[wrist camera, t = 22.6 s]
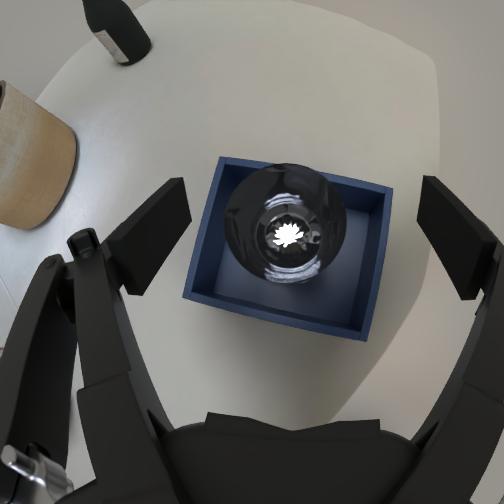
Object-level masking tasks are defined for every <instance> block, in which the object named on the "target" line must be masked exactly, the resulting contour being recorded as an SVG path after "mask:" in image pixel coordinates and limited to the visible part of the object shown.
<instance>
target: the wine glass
mask: <svg viewBox="0 0 504 504" xmlns="http://www.w3.org/2000/svg"><path fill="white" fill-rule="evenodd" d="M346 229H347V216H346V210H345V206H344V203H343V200H342V198H341V196H340V194H339V192H338V191H337V190H336V188H335V187H334V186H333V184H332V183H331V182H330V181H329V180H328V179H327V178H326V177H324V176H323V175H321V174H320V173H318V172H317V171H315V170H313V169H311V168H308V167H306V166H302V165H298V164H289V163H283V164H274V165H270V166H266V167H264V168H261V169H259V170H257V171H255V172H253V173H252V174H250V175H249V176H247V177H246V178H245V179H244V180H243V181H242V182H241V183H240V184H239V185H238V186H237V188H236V189H235V190H234V192H233V193H232V195H231V197H230V199H229V201H228V204H227V207H226V210H225V216H224V232H225V237H226V241H227V244H228V246H229V249H230V251H231V252H232V254H233V256H234V257H235V259H236V260H237V261H238V262H239V263H240V265H241V266H242V267H243V268H245V269H246V270H247V271H248V272H250V273H251V274H253V275H255V276H256V277H258V278H260V279H262V280H265V281H268V282H271V283H277V284H288V285H298V284H302V283H305V282H307V281H309V280H311V279H312V278H314V277H316V276H317V275H319V274H320V273H322V272H323V271H324V270H325V269H326V268H327V267H328V266H329V265H331V263H332V262H333V261H334V259H335V258H336V257H337V255H338V254H339V252H340V250H341V247H342V245H343V243H344V239H345V235H346Z"/></svg>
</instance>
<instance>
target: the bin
mask: <svg viewBox="0 0 504 504" xmlns="http://www.w3.org/2000/svg"><path fill="white" fill-rule="evenodd" d="M270 165H274V164H273V163H267V162H260V161H253V160H245V159H238V158H230V157H219V160H218V164H217V167H216V170H215V174H214V177H213V181H212V184H211V187H210V191H209V194H208V198H207V202H206V205H205V209H204V212H203V216H202V220H201V223H200V227H199V231H198V235H197V239H196V243H195V246H194V250H193V254H192V258H191V262H190V266H189V271H188V275H187V279H186V283H185V287H184V292H183V296H182V298H185V299H188V300H192V301H195V302H198V303H202V304H206V305H209V306H213V307H216V308H220V309H224V310H227V311H231V312H235V313H239V314H242V315H246V316H250V317H254V318H258V319H262V320H266V321H270V322H274V323H279V324H283V325H287V326H291V327H296V328H300V329H305V330H309V331H314V332H318V333H323V334H328V335H333V336H338V337H343V338H348V339H353V340H359V341H364V342H366V341H367V338H368V334H369V330H370V326H371V322H372V318H373V313H374V309H375V304H376V300H377V295H378V290H379V285H380V280H381V275H382V269H383V264H384V258H385V251H386V245H387V238H388V231H389V223H390V215H391V206H392V196H393V188H390V187H386V186H382V185H378V184H374V183H370V182H366V181H362V180H357V179H353V178H348V177H344V176H339V175H334V174H329V173H324V172H319V171H317V172H318V173H320V174H321V175H323V176H324V177H326V178H327V179H328V180H329V181H330V182H331V183H332V184H333V186H334V187H335V188H336V190H337V191H338V192H339V194H340V196H341V198H342V200H343V203H344V206H345V210H346V216H347V229H346V235H345V239H344V243H343V245H342V247H341V250H340V252H339V254H338V255H337V257H336V258H335V259H334V261H333V262H332V263H331V265H329V266H328V267H327V268H326V269H325V270H324V271H323V272H322V273H320V274H319V275H317V276H316V277H314V278H312V279H311V280H309V281H307V282H305V283H302V284H298V285H288V284H277V283H271V282H268V281H265V280H262V279H260V278H258V277H256V276H255V275H253V274H251V273H250V272H248V271H247V270H246V269H245V268H243V267H242V266H241V265H240V263H239V262H238V261H237V260H236V259H235V257H234V256H233V254H232V252H231V251H230V249H229V246H228V244H227V241H226V237H225V232H224V216H225V210H226V207H227V204H228V201H229V199H230V197H231V195H232V193H233V192H234V190H235V189H236V188H237V186H238V185H239V184H240V183H241V182H242V181H243V180H244V179H245V178H246V177H247V176H249V175H250V174H252V173H253V172H255V171H257V170H259V169H261V168H264V167H266V166H270Z"/></svg>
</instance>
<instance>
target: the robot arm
mask: <svg viewBox="0 0 504 504" xmlns="http://www.w3.org/2000/svg"><path fill="white" fill-rule="evenodd" d="M191 221H192V219H191V214H190V210H189V205H188V200H187V195H186V190H185V185H184V180H183V177H179V178H170V179H169V180H168V181H167V182H166V183H165V184H164V185H163V186H161V187H160V188H159V189H158V190H157V191H156V192H155V193H154V194H153V195H151V196H150V197H149V198H148V199H147V200H146V201H145V202H144V203H143V204H142V205H141V206H140V207H139V208H138V209H137V210H135V211H134V212H133V213H132V214H131V215H130V216H129V217H128V218H127V219H126V220H125V221H124V222H122V223H121V224H120V225H119V226H118V227H117V228H116V230H114V231H113V232H112V233H111V234H110V235H109V236H108V237H107V238H106V239H105V240H104V241H103V242H102V243H101V244H100V243H99V241H98V238H97V235H96V233H95V230H94V229H93V228H86V229H83V230H80V231H78V232H76V233H74V234H73V235H72V236H70V238H69V239H68V240H67V244H68V247H69V249H70V251H71V254H72V256H73V258H74V261H72V262H68V263H65V262H64V260H63V257H62V256H61V254H55V255H52V256H48V257H47V258H45V259H44V261H43V262H42V263H41V264H40V265H39V267H38V269H37V271H36V273H35V275H34V277H33V279H32V281H31V283H30V285H29V287H28V289H27V292H26V294H25V296H24V298H23V300H22V303H21V305H20V307H19V310H18V312H17V315H16V317H15V320H14V322H13V325H12V327H11V330H10V333H9V335H8V338H7V341H6V344H5V347H4V350H3V353H2V356H1V359H0V504H473V503H472V502H471V501H470V498H471V496H472V494H473V493H474V491H475V489H476V487H477V485H478V484H479V482H480V480H481V478H482V476H483V474H484V472H485V470H486V468H487V466H488V464H489V462H490V459H491V458H492V455H493V453H494V451H495V448H496V446H497V444H498V441H499V439H500V436H501V433H502V431H503V428H504V245H503V244H502V243H501V242H500V241H499V240H498V238H497V237H496V236H495V235H494V234H493V232H492V231H491V230H489V228H488V227H487V225H486V224H485V223H484V222H482V221H481V220H479V219H478V218H477V217H476V216H475V215H474V214H473V213H472V212H471V211H470V210H469V209H468V208H467V207H466V206H465V205H464V204H463V203H462V202H461V201H460V200H459V199H458V198H457V197H456V196H455V195H454V194H453V193H452V192H451V191H450V190H449V189H448V188H447V187H446V186H445V185H444V184H443V183H442V182H441V181H440V180H439V179H437V178H436V177H435V176H425V175H423V182H422V189H421V197H420V203H419V209H418V215H417V222H418V224H419V226H420V227H421V229H422V230H423V232H424V233H425V235H426V237H427V238H428V240H429V242H430V243H431V245H432V247H433V248H434V250H435V252H436V253H437V255H438V257H439V259H440V260H441V262H442V264H443V266H444V268H445V269H446V271H447V273H448V275H449V277H450V279H451V280H452V282H453V284H454V286H455V288H456V290H457V292H458V294H459V296H460V298H461V300H475V299H476V297H477V295H478V293H479V290H480V288H481V289H482V290H483V292H484V296H483V299H482V301H481V303H480V305H479V307H478V309H477V311H476V313H475V315H476V317H475V321H474V323H473V326H472V328H471V331H470V333H469V336H468V338H467V341H466V343H465V345H464V348H463V350H462V352H461V354H460V357H459V359H458V361H457V363H456V365H455V368H454V369H453V371H452V373H451V375H450V377H449V379H448V381H447V383H446V385H445V387H444V389H443V391H442V393H441V394H440V396H439V398H438V400H437V402H436V403H435V405H434V407H433V408H432V410H431V412H430V413H429V415H428V417H427V418H426V420H425V421H424V423H423V425H422V426H421V428H420V429H419V430H418V432H417V433H416V434H415V435H414V437H413V438H412V439H411V440H410V441H409V440H408V439H406V438H404V437H402V436H400V435H398V434H395V433H392V432H389V431H385V430H380V419H375V420H360V421H337V422H333V423H329V424H325V425H320V426H316V427H311V428H306V429H301V430H296V431H291V430H286V429H283V428H280V427H276V426H273V425H270V424H267V423H264V422H261V421H257V420H255V419H252V418H249V417H240V416H232V415H224V414H217V413H211V412H208V413H207V417H206V420H205V422H200V423H194V424H189V425H186V426H182V427H180V428H177V429H174V427H173V426H172V424H171V423H170V421H169V419H168V417H167V415H166V413H165V411H164V409H163V407H162V404H161V402H160V400H159V398H158V395H157V393H156V391H155V388H154V386H153V383H152V381H151V378H150V376H149V374H148V371H147V368H146V366H145V363H144V361H143V358H142V355H141V353H140V350H139V347H138V344H137V341H136V338H135V336H134V333H133V330H132V327H131V324H130V320H129V317H128V314H127V311H126V308H125V304H124V301H123V298H122V295H121V293H120V291H119V289H120V288H121V286H122V285H123V284H124V286H125V289H126V291H127V293H128V295H139V296H143V294H144V293H145V291H146V289H147V288H148V286H149V285H150V283H151V281H152V280H153V278H154V277H155V275H156V274H157V272H158V270H159V269H160V267H161V266H162V264H163V263H164V261H165V260H166V258H167V257H168V255H169V254H170V252H171V251H172V249H173V248H174V246H175V245H176V243H177V242H178V240H179V239H180V237H181V236H182V234H183V233H184V231H185V230H186V229H187V227H188V226H189V224H190V223H191ZM77 342H78V347H79V355H80V362H81V369H82V375H83V381H84V388H82V389H79V390H78V391H77V404H78V409H79V414H80V419H81V424H82V428H83V433H84V437H85V441H86V445H87V449H88V452H89V456H90V460H91V463H92V466H93V470H94V473H95V476H96V479H94V480H93V481H91V482H89V483H87V484H85V485H84V486H82V487H80V488H78V489H76V490H74V485H73V483H72V481H71V480H70V479H68V478H67V476H66V473H65V469H66V463H67V456H68V441H69V414H70V400H71V388H72V379H73V370H74V362H75V355H76V349H77ZM73 490H74V491H73ZM498 504H504V496H503V497H502V499H501V501H500V503H498Z"/></svg>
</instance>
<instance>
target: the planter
mask: <svg viewBox="0 0 504 504" xmlns="http://www.w3.org/2000/svg"><path fill="white" fill-rule="evenodd" d="M75 155H76V140H75V136H74V133H73V131H72V130H71V128H70V127H69V126H68V125H67V124H65V123H64V122H63V121H61V120H60V119H58V118H57V117H56V116H54V115H53V114H51V113H50V112H48V111H47V110H45V109H44V108H43V107H41V106H40V105H38V104H37V103H35V102H34V101H32V100H31V99H29V98H28V97H27V96H25V95H24V94H22V93H21V92H20V91H18V90H17V89H16V88H14V87H13V86H11V85H10V84H9V83H7V82H6V81H4V80H2V81H0V223H1V224H5V225H8V226H11V227H14V228H18V229H24V230H28V229H32V228H34V227H36V226H38V225H39V224H40V223H42V222H43V221H44V220H45V219H46V218H47V217H48V216H49V215H50V213H51V212H52V211H53V209H54V208H55V207H56V205H57V204H58V202H59V201H60V199H61V197H62V195H63V193H64V191H65V189H66V187H67V185H68V182H69V179H70V176H71V173H72V170H73V166H74V161H75Z"/></svg>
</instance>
